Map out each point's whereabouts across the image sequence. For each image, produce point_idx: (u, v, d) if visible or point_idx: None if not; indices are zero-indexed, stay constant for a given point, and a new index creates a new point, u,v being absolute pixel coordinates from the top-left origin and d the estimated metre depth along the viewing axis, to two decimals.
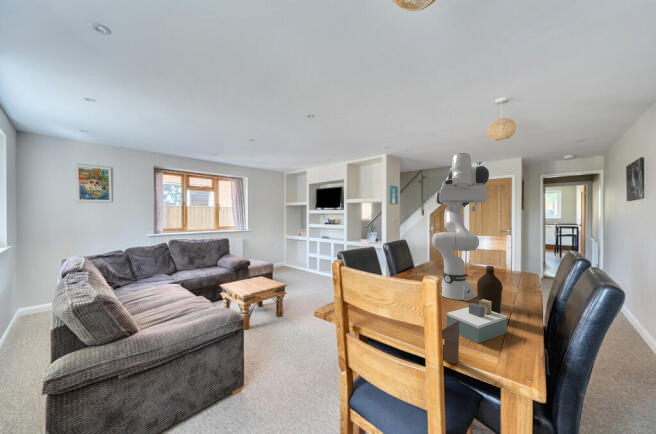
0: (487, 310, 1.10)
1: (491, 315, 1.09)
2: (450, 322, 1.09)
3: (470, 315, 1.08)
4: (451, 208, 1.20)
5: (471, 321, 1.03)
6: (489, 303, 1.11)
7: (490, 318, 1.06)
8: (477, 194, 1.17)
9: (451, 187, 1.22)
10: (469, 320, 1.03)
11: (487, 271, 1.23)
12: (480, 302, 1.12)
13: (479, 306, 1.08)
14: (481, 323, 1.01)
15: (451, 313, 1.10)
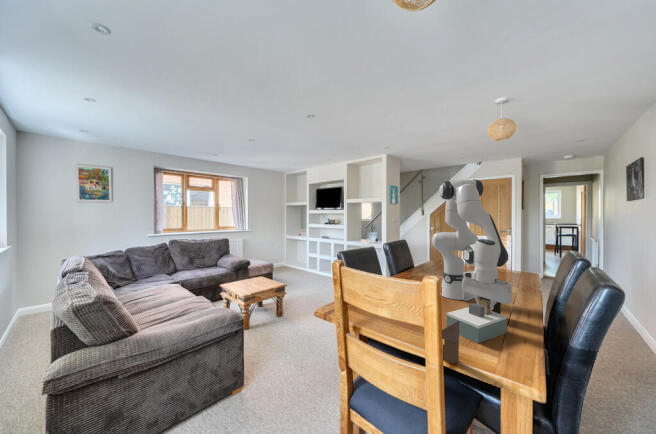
0: (487, 310, 1.10)
1: (491, 315, 1.09)
2: (450, 322, 1.09)
3: (470, 315, 1.08)
4: (478, 304, 1.14)
5: (471, 321, 1.03)
6: (489, 303, 1.11)
7: (490, 318, 1.06)
8: (497, 295, 1.06)
9: (471, 281, 1.15)
10: (469, 320, 1.03)
11: None
12: (480, 302, 1.12)
13: (479, 306, 1.08)
14: (481, 323, 1.01)
15: (451, 313, 1.10)
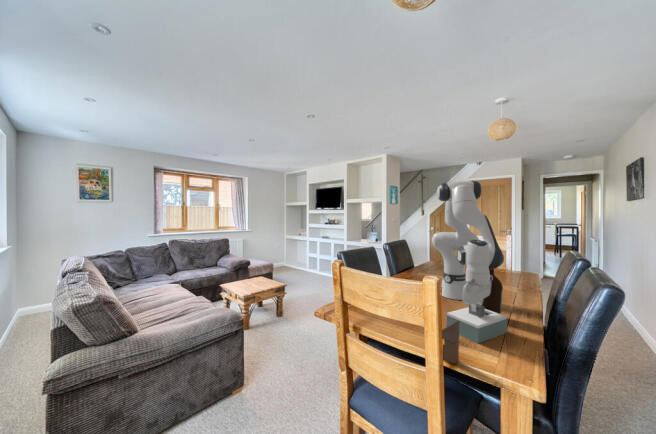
0: None
1: (491, 315, 1.09)
2: (450, 322, 1.09)
3: (470, 315, 1.08)
4: None
5: (471, 321, 1.03)
6: None
7: (490, 318, 1.06)
8: None
9: None
10: (469, 320, 1.03)
11: None
12: None
13: (479, 306, 1.08)
14: (481, 323, 1.01)
15: (451, 313, 1.10)
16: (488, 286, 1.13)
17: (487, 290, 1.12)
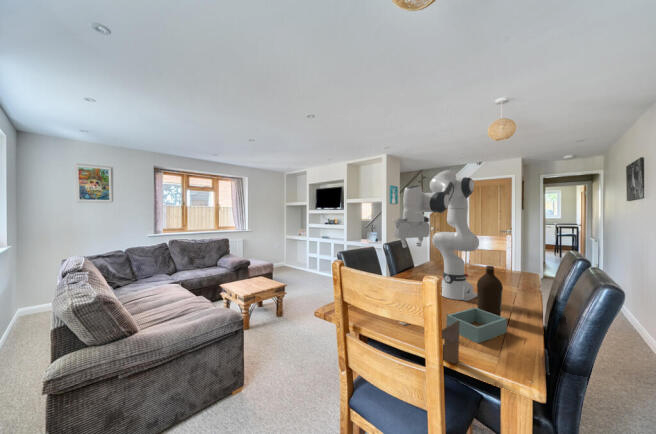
0: None
1: None
2: (450, 322, 1.09)
3: None
4: None
5: None
6: None
7: None
8: None
9: None
10: None
11: (487, 271, 1.23)
12: None
13: None
14: None
15: None
16: (426, 227, 1.25)
17: (424, 231, 1.25)
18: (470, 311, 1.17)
